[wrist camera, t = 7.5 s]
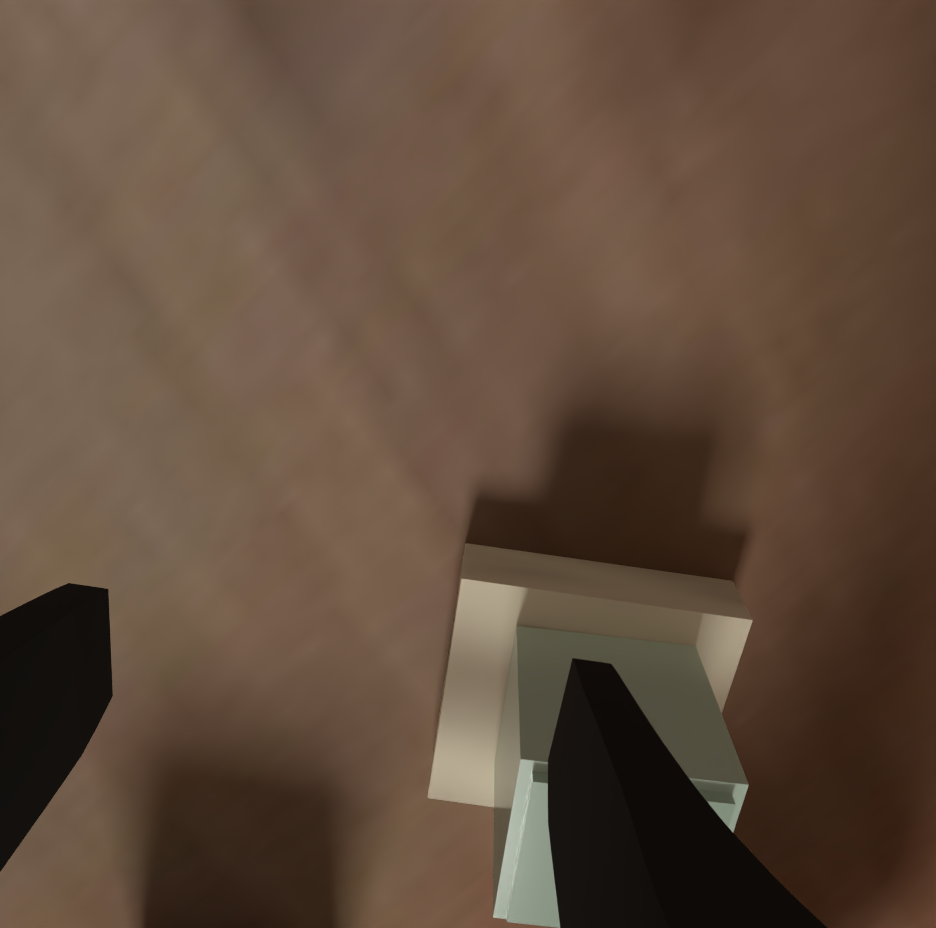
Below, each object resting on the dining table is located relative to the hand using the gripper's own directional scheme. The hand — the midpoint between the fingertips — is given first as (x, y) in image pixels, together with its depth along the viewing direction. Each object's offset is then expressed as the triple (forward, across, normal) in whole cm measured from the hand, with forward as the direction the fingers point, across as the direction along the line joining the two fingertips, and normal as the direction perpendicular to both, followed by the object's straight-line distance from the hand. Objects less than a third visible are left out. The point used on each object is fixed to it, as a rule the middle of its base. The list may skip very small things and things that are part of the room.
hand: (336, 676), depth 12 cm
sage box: (+8, -6, +7) cm, 12 cm away
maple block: (+11, -6, +7) cm, 14 cm away
